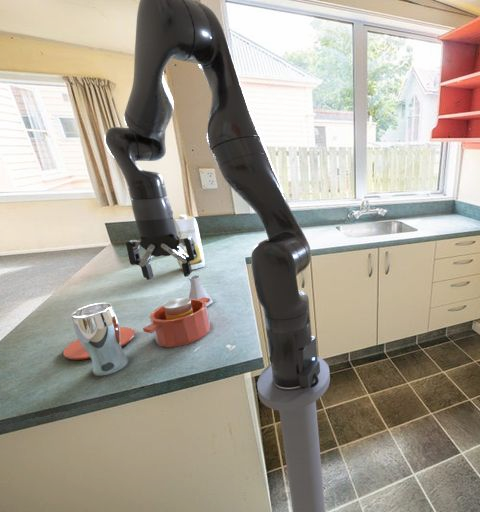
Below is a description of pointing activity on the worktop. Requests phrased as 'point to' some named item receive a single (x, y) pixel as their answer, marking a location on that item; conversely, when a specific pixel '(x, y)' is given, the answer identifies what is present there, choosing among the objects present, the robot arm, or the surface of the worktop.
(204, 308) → the pot
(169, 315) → the can
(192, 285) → the flask
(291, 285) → the robot arm
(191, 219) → the juice carton
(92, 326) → the silver metal cup
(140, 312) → the worktop surface
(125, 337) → the lid
